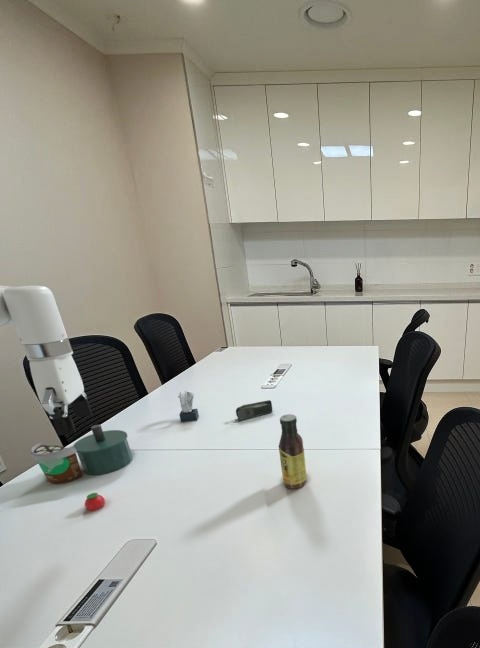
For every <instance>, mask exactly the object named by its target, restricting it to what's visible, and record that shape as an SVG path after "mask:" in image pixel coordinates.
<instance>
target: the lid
mask: <svg viewBox="0 0 480 648" xmlns="http://www.w3.org/2000/svg"><path fill="white" fill-rule="evenodd" d="M90 429H91V432H92V434H89V435H87V436H83V437H82V438H80V439H79V440H77V441H76V442H75V443H74V444H73V445H72V446H74V448H75V449H76V451H77V452H79V453H92V452H98V451H102V450H106V449H109V448H112V447H114V446H117V445H119V444H120V443H122V442H123V441H125V440H126V438H127V439H128V433H127V432H126V431H124V430H120V429H111V430H104V431H103V427H102V425H101V424H94V425H91V427H90Z"/></svg>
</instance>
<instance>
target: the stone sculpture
mask: <svg viewBox="0 0 480 648" xmlns="http://www.w3.org/2000/svg"><path fill="white" fill-rule="evenodd" d="M194 397H195V395H194V392H192V391H191V390H181V391H179V393H178V396H177V398H178V399H179V402H180V408H181V411H180V412H179V419H180V423H188V422H197V421H198V420H199V417H200V415H199V410H198V408H193V402H194Z"/></svg>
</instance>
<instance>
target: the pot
mask: <svg viewBox="0 0 480 648" xmlns="http://www.w3.org/2000/svg"><path fill="white" fill-rule="evenodd" d="M76 455H77V457H78V460H79V461H80V464H81V466H82V469H83V471H84V473H85V474H87V475H90V476H101V475H105V474H110V473H113V472H117V471H119V470H121V469H124V468H125V467H126V466H128V465H129V464H130V463H131V462H132V461H133V454H132V451H131V448H130V445H129V441H128V437H127V438H126V440H125V441H123V442H122V443H120V444H119V445H117V446H114V447H112V448H109V449H106V450H102V451H98V452H92V453H79V452H77V453H76Z"/></svg>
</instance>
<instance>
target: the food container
mask: <svg viewBox="0 0 480 648" xmlns="http://www.w3.org/2000/svg"><path fill="white" fill-rule="evenodd" d="M30 455H31V459H32V460H33V461H35V462H37V464H38V465H39V467H40V469H41V471H42V473H43V474H44V476H45V478H46V480H47V481H48V483H49V484H52V485H62V484H66V483H70V482H73V481H76V480H79V479H80V478H82V477H83V473H82V470H81V467H80V463H79V458H78V455H77V451H76V449H75V448H74V446H73V445H71V446H69V447H64V446H61V445H46V444H43V442H42V441H40V442H38V443H37V444H35V445H34V446H32V448H31V450H30Z"/></svg>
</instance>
